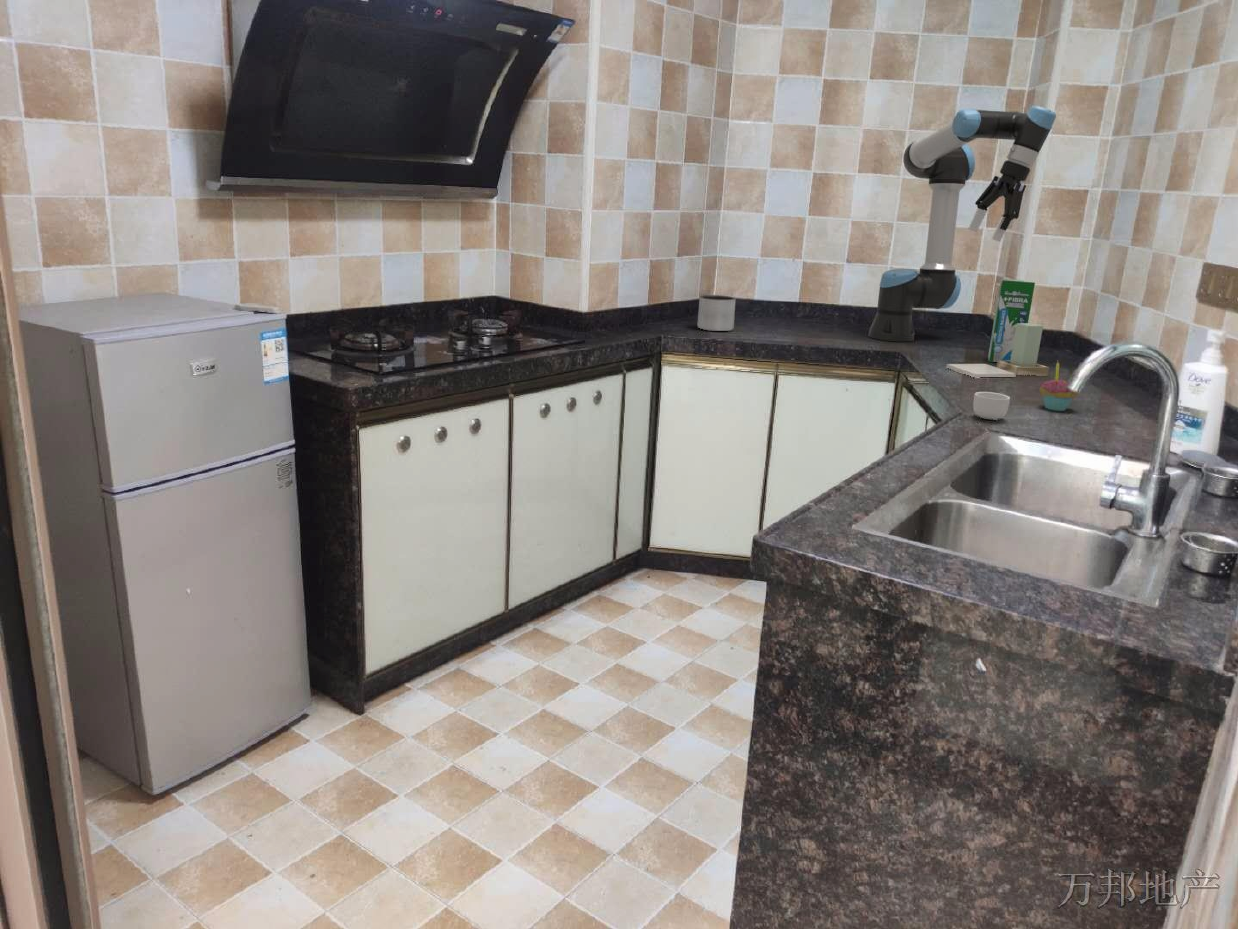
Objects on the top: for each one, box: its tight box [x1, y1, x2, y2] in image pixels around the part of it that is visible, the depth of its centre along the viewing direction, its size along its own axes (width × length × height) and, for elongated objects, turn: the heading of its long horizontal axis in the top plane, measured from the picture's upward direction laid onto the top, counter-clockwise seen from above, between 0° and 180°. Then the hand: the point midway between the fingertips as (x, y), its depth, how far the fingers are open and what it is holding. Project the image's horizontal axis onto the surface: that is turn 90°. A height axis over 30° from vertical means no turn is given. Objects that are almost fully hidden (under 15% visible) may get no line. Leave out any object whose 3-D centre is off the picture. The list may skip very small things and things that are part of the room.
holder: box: [995, 361, 1050, 377], centre depth 270 cm, size 10×10×2 cm
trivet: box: [946, 363, 1017, 379], centre depth 267 cm, size 14×13×1 cm
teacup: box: [972, 391, 1011, 419], centre depth 215 cm, size 10×8×5 cm
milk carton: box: [987, 279, 1036, 363], centre depth 283 cm, size 9×9×25 cm
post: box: [1010, 322, 1044, 367], centre depth 269 cm, size 5×5×14 cm
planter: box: [696, 294, 736, 332], centre depth 320 cm, size 12×13×11 cm
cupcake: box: [1039, 360, 1078, 412], centre depth 226 cm, size 9×8×12 cm
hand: (983, 235), depth 272 cm, fingers open, 13 cm apart
